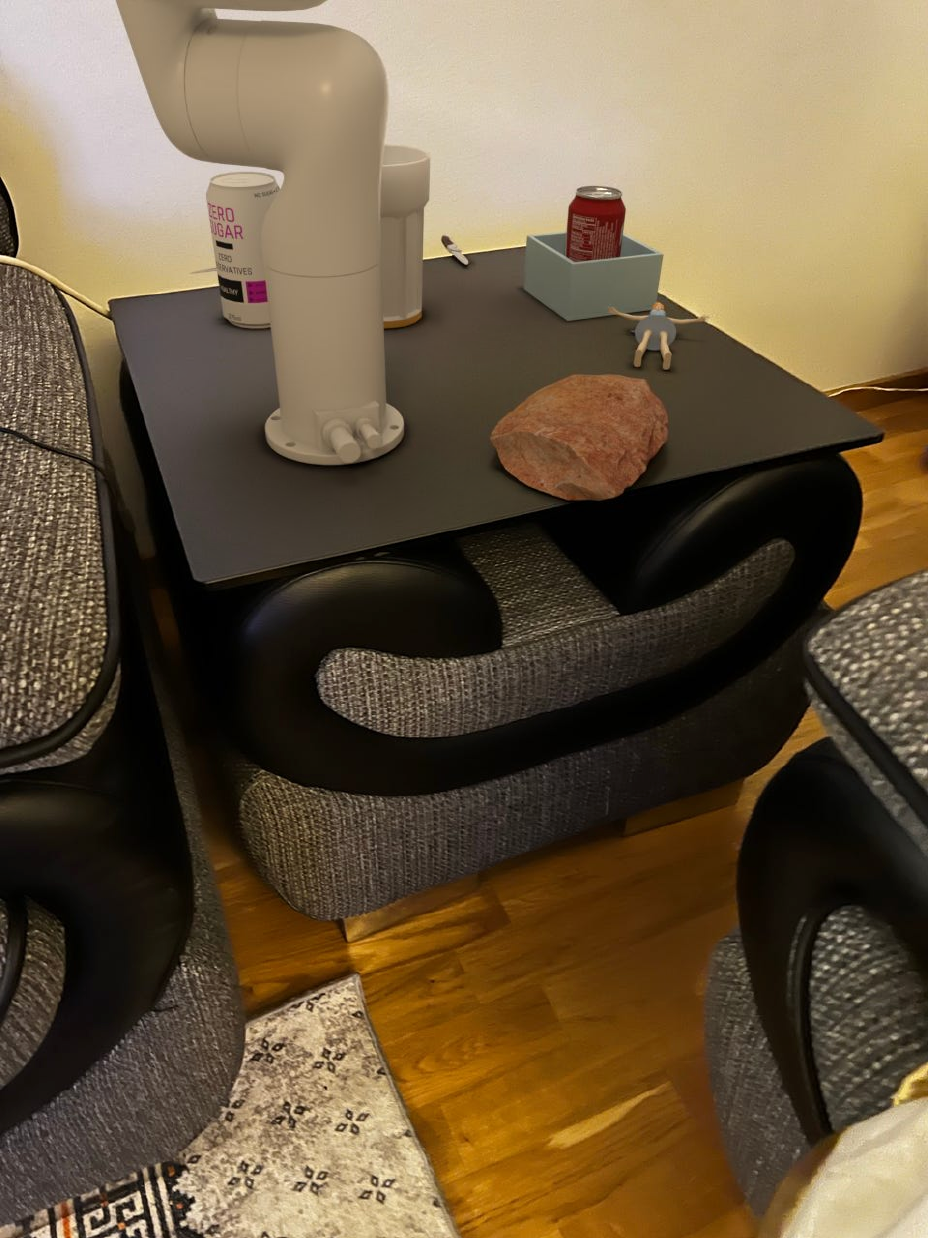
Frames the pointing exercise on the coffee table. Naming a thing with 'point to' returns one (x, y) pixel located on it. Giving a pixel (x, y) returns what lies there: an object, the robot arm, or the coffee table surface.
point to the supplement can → (241, 243)
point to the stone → (583, 436)
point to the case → (591, 278)
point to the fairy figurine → (655, 332)
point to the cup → (402, 232)
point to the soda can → (595, 224)
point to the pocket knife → (453, 248)
